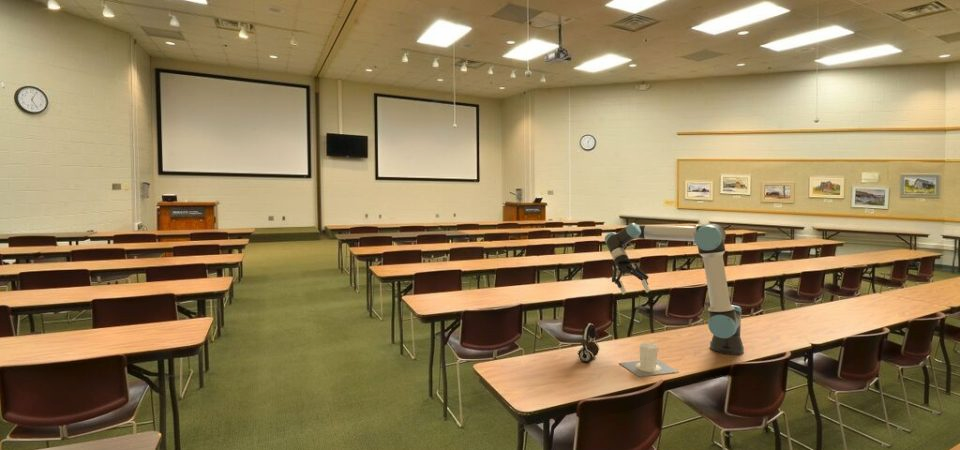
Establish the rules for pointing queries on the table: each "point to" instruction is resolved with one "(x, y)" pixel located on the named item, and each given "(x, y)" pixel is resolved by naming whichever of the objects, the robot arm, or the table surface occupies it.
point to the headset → (588, 343)
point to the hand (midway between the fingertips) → (636, 292)
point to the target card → (641, 372)
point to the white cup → (648, 355)
